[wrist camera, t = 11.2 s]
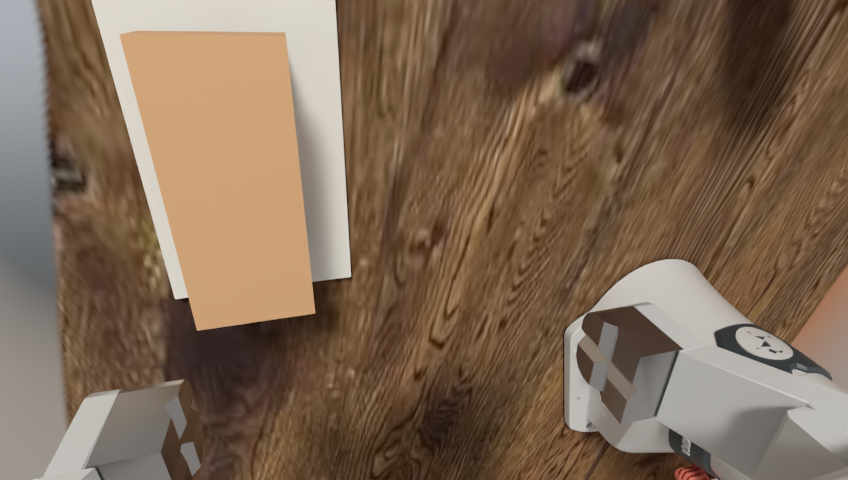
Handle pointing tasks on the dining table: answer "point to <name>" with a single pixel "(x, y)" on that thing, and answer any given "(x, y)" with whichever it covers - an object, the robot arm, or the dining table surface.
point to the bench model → (226, 169)
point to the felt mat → (312, 100)
